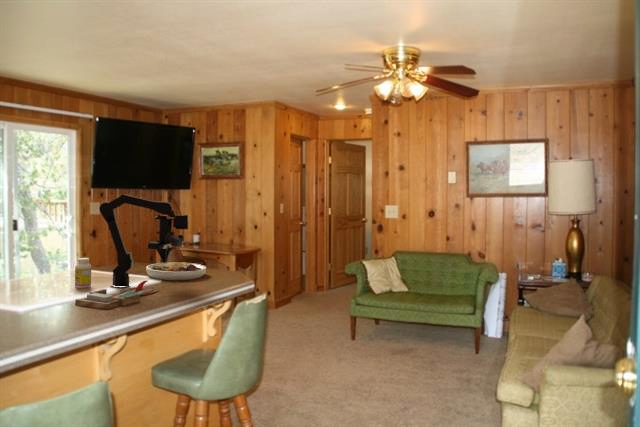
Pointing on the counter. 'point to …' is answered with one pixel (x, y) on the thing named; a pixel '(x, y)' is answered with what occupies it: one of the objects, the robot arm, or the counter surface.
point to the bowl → (176, 271)
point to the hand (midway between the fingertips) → (164, 262)
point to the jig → (110, 304)
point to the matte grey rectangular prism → (99, 297)
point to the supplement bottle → (83, 273)
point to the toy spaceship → (137, 291)
